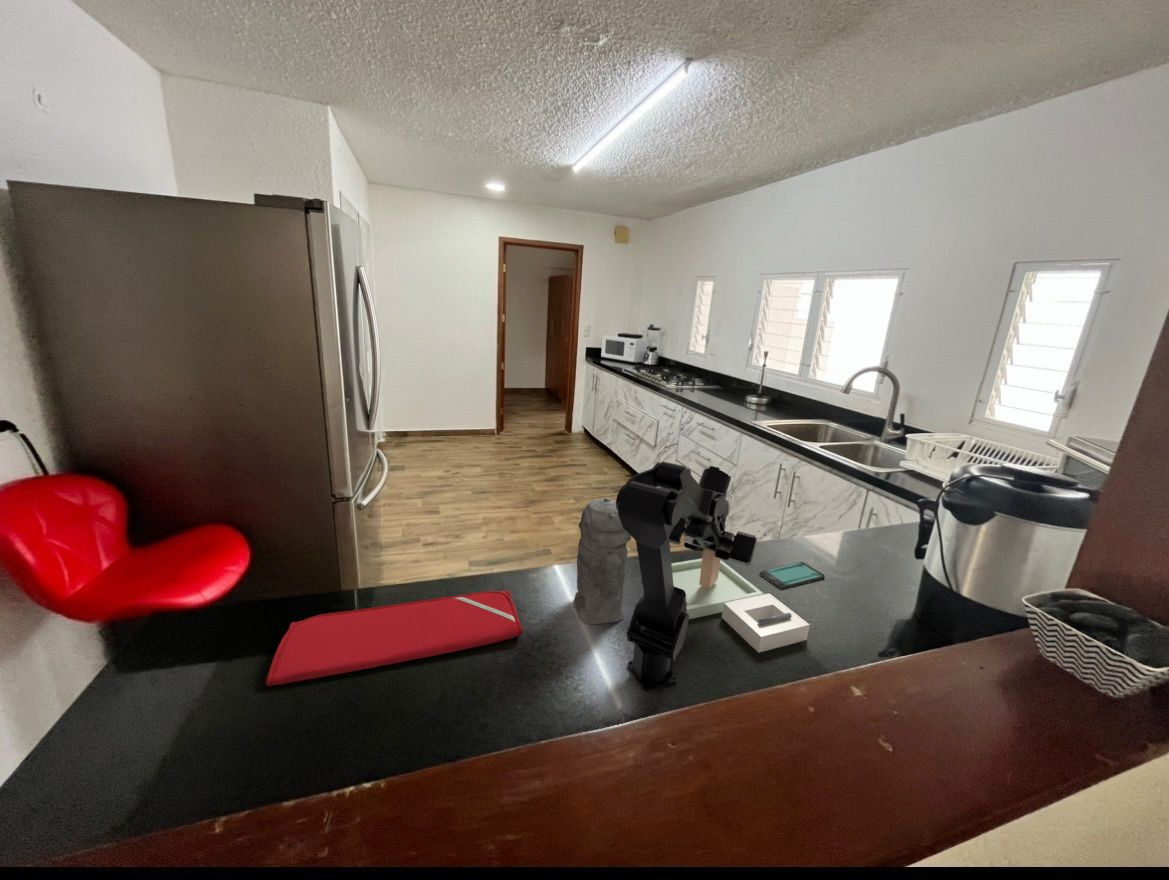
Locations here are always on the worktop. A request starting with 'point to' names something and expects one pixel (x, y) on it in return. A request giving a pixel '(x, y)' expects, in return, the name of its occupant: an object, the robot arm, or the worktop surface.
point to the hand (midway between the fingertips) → (713, 552)
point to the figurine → (601, 563)
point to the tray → (712, 598)
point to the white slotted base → (765, 622)
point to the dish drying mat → (392, 635)
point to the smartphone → (792, 575)
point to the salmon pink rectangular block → (709, 568)
